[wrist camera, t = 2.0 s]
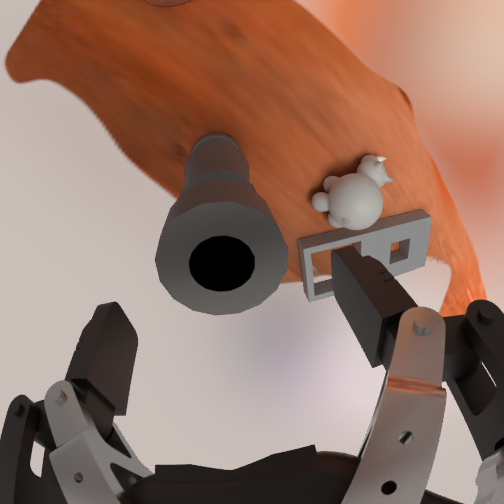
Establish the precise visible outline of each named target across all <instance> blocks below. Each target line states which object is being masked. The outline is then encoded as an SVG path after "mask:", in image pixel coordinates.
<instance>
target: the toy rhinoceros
mask: <svg viewBox="0 0 504 504" xmlns="http://www.w3.org/2000/svg"><path fill="white" fill-rule="evenodd" d="M383 160H386V158H385V157H376V156H374V155H366V156H364V157H363V158H362V160H361V164H360V165H359V166H358V168H357V171H356V173H351V174H347V175H344V176H342V177H340V178H339V177H336V176H328V177H327V178H325V180H324V183H323V187H324V190H325V192H326V193H324V192H318V193H316V194H314V195H313V197H312V206H313V208H314V209H315V210H316V211H320V212H325V211H330V212H329V214H328V222H329V224H330V225H331V226H332V227H335V228H342V227H345V228H347V229H351V230H362V229H365V228H368V227H370V226H371V225H373V224H374V223H375V222H376V221H377V220H378V218H379V216H380V215H381V212H382V208H383V197H382V193H381V191H380V189H379V188H381V187H382V186H383V185H384V183H386V182H393V181H394V180H393V179H392V178H390V177H389V176H388V175H387V173H386V170H385V168H384V166H383V165H384V162H382V161H383ZM327 193H328V194H327Z"/></svg>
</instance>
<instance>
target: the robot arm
mask: <svg viewBox="0 0 504 504" xmlns="http://www.w3.org/2000/svg"><path fill="white" fill-rule="evenodd" d="M145 1H146V2H148V3H150V4H152V5H156V6H174V5H179V4H182V3H185V2H188V1H190V0H145ZM331 267H332V287H333V292H334V296H335V298H336V300H337V303H338V304H339V306H340V308H341V309H342V312H343V313H344V315H345V317H346V319H347V321H348V322H349V324H350V326H351V328H352V330H353V332H354V334H355V336H356V337H357V339H358V341H359V343H360V345H361V347H362V349H363V351H364V352H365V355H366V356H367V358H368V360H369V362H370V364H371V366H372V368H374V367H377V366H379V365H382V364H383V366H384V368H385V370H386V374H385V377H384V381H383V384H382V388H381V391H380V395H379V398H378V401H377V405H376V408H375V411H374V414H373V417H372V420H371V423H370V425H369V428H368V430H367V433H366V435H365V438H364V441H363V443H362V446H361V448H360V451H359V453H358V455H357V457H356V456H354V455H349V454H346V453H340V452H329V451H320V452H316V448H315V445H310V446H306V447H302V448H298V449H295V450H290V451H286V452H281V453H276V454H273V455H270V456H268V457H265V458H263V459H260V460H258V461H256V462H253V463H251V464H248V465H246V466H243V467H240V468H237V469H234V470H223V469H215V468H209V467H203V466H197V465H192V464H186V465H155V474H153V473H152V472H151V471H150V470H149V469H148V468H147V467H145V466H144V465H143V464H142V463H141V462H140V461H139V459H138V458H137V456H136V455H135V453H134V452H133V450H132V449H131V447H130V446H129V444H128V443H127V441H126V440H125V438H124V436H123V435H122V433H121V431H120V430H119V428H118V426H117V425H116V424H115V423H114V422H113V418H114V416H116V415H117V416H119V415H121V416H123V415H126V409H127V402H128V396H129V390H130V384H131V378H132V373H133V367H134V362H135V357H136V352H137V347H138V337H137V333H136V331H135V329H134V327H133V326H132V324H131V323H130V321H129V319H128V318H127V316H126V315H125V313H124V311H123V310H122V308H121V306H120V305H119V304H118V303H117V302H110V303H106V304H101V305H98V306H97V308H96V310H95V312H94V315H93V317H92V319H91V320H90V321H89V323H88V324H87V325H86V326H85V328H84V329H83V331H82V333H81V336H80V338H79V342H78V344H77V346H76V351H74V354H73V357H72V360H71V362H70V365H69V368H68V372H67V374H66V377H65V380H63V381H58V382H56V383H55V384H53V385H52V386H51V387H50V388H49V390H48V391H47V393H46V395H45V399H44V400H41V401H38V402H36V403H33V402H32V401H31V400H30V399H29V398H28V397H27V396H25V395H19V396H17V397H16V398H14V400H13V401H12V402H11V404H10V406H9V408H8V411H7V415H6V419H5V422H4V427H3V430H2V434H1V439H0V504H463V503H460V502H457V501H454V500H451V499H449V498H446V497H443V496H441V495H438V494H436V493H433V492H431V491H428V490H426V489H425V488H426V485H427V482H428V479H429V476H430V473H431V469H432V465H433V462H434V459H435V455H436V451H437V446H438V442H439V438H440V433H441V428H442V423H443V418H444V412H445V405H446V396H447V394H446V389H445V388H442V382H444V381H446V383H447V385H448V387H449V389H450V390H451V392H452V394H453V396H454V398H455V400H456V402H457V404H458V406H459V408H460V411H461V412H462V414H463V417H464V419H465V421H466V423H467V425H468V428H469V430H470V432H471V434H472V437H473V439H474V441H475V444H476V446H477V449H478V451H479V454H480V456H481V459H482V461H483V462H482V464H481V466H480V468H479V470H478V474H477V477H476V485H477V486H478V494H477V497H476V500H475V502H474V504H504V314H503V312H502V311H501V310H500V309H499V308H498V307H497V306H496V305H495V304H494V303H492V302H490V301H487V300H475V301H473V302H471V303H470V304H469V306H468V308H467V310H466V313H465V314H464V315H457V316H449V317H442V316H441V315H440V314H439V313H438V312H436V311H435V310H433V309H431V308H427V307H419V306H418V305H417V304H416V303H415V302H414V300H413V299H412V298H411V297H410V295H409V294H408V293H407V292H406V291H405V289H404V288H403V287H402V286H401V285H400V284H399V282H398V281H397V280H395V279H394V276H393V275H392V274H391V273H390V272H388V270H387V268H386V267H385V266H384V265H383V264H382V263H381V262H380V261H379V260H377V259H375V258H373V257H371V256H369V255H367V256H363V257H362V255H361V254H360V253H359V252H358V251H357V250H356V248H355V247H354V246H352V245H350V246H346V247H343V248H339V249H335V250H332V252H331ZM482 362H483V364H484V365H485V367H486V368H487V370H488V372H489V373H490V375H491V377H492V378H493V380H494V382H495V384H496V386H495V385H494V383H493V381H492V379H491V378H490V376H489V374H488V373H487V371H486V369H485V368H484V366H483V365H482ZM34 441H35V442H37V443H38V444H40V445H41V446H43V447H44V448H45V452H44V458H43V466H42V475H41V478H40V477H38V476H37V475H35V474H34V473H33V471H32V470H31V467H30V460H31V453H32V447H33V442H34Z"/></svg>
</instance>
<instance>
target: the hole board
mask: <svg viewBox="0 0 504 504" xmlns="http://www.w3.org/2000/svg"><path fill="white" fill-rule="evenodd" d="M431 217H432V216H430V215H429V214H427V213H426V212H424V211H423V210H416V211H412V212H408V213H404V214H400V215H396V216H392V217H387V218H383V219H379V220H377V221H376V222H375V223H374V224H373V225H371V226H370V227H368V228H365V229H362V230H351V229H347V228H342V229H338V230H334V231H330V232H326V233H321V234H317V235H313V236H309V237H305V238H301V239H298V246H299V254H300V262H301V270H302V278H303V286H304V292H305V294H306V297H307V299H308V301H309V302H312V301H315V300H319V299H323V298H326V297H330V296H333V295H334V292H333V287H332V279H329V280H325V281H321V282H318V283H314V282H313V271H312V260H311V254H312V253H316V252H319V251H323V250H327V249H331V248H335V247H339V246H343V245H347V244H350V243H353V246H354V247H355V248H356V250H357V251H358V252H359V253H360V254H361V255H362V257H363V256H367V255H369V256H371V257H373V258H375V259H377V260H379V261H380V262H381V263H382V264H383V265H384V266H385V267H386V268H387V270H388V272H390V273H391V274H392V275H393V276H397V275H400V274H403V273H406V272H409V271H411V270H414V269H417V268H420V267H422V266H425V261H426V255H427V249H428V242H429V234H430V226H431ZM399 241H400V245H399V250H396V251H393V252H390V250H391V244H392V243H395V242H399Z"/></svg>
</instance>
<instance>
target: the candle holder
mask: <svg viewBox="0 0 504 504" xmlns="http://www.w3.org/2000/svg"><path fill="white" fill-rule="evenodd" d="M184 179H185V185H186V186H185V187H184V188H183V189H182V190H181V193H180V196H179V198H178V200H177V201H176V202H175V203H174V205H173V206H172V207H171V208H170V211H169V214H168V216H167V219H166V222H165V225H164V227H163V230H162V233H161V236H160V240H159V244H158V248H157V253H156V257H155V262H156V267H157V271H158V275H159V279H160V282H161V283H162V284H163V286H164V287H165V288H166V290H167V291H168V292H169V294H170V295H171V296H172V297H173V299H175V300H177V301H178V302H180V303H181V304H183V305H185V306H187V307H188V308H190V309H191V310H194V311H198V312H202V313H207V314H212V315H225V314H236V313H240V312H243V311H245V310H248V309H250V308H252V307H255V306H257V305H260V304H261V303H262V302H263V301H264V300H266V298H268V297H269V296H270V295H271V294H272V293H273V292H275V291H276V290H277V288H278V286H279V284H280V282H281V280H282V279H283V277H284V275H285V273H286V271H287V256H288V248H287V245H286V243H285V241H284V238H283V236H282V234H281V231H280V229H279V227H278V225H277V223H276V221H275V219H274V217H273V215H272V213H271V211H270V209H269V207H268V205H267V203H266V201H265V200H264V199H263V198H262V197H261V196H259V195H258V194H257V193H256V191H255V189H254V187H253V185H252V184H251V183H250V182H249V165H248V163H247V161H246V159H245V156H244V154H243V153H242V152H241V150H240V148H239V146H238V144H237V142H236V141H235V140H234V139H233V138H232V137H230V136H229V135H227V134H224V133H221V132H215V133H208V134H206V135H204V136H202V137H201V138H200V139H199V140H198V141H197V142H196V143H195V144H194V146H193V148H192V151H191V154H190V156H189V158H188V159H187V163H186V166H185V169H184Z"/></svg>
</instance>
